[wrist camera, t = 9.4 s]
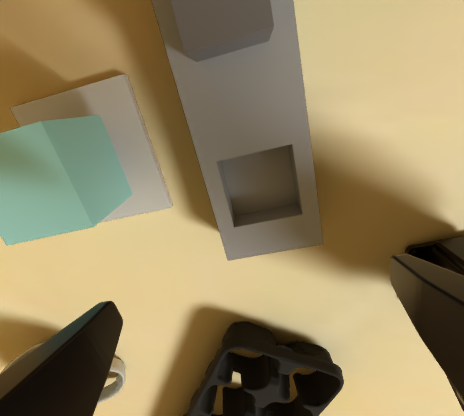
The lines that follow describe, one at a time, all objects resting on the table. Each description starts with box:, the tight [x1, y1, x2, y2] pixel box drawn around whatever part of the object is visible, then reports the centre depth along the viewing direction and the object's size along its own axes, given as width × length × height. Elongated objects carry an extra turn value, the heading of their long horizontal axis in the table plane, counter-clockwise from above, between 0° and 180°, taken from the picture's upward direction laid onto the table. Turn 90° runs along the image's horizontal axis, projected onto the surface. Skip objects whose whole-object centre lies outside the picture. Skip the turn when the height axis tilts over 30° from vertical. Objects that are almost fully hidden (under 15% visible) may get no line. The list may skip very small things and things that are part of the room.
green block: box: [0, 115, 133, 245], centre depth 16 cm, size 6×6×7 cm
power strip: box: [151, 0, 323, 261], centre depth 15 cm, size 20×7×6 cm, turn 14°
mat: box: [10, 74, 173, 223], centre depth 20 cm, size 10×9×1 cm
